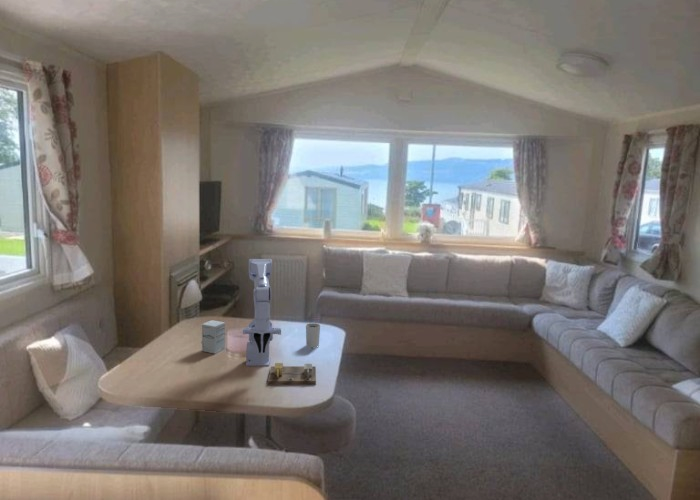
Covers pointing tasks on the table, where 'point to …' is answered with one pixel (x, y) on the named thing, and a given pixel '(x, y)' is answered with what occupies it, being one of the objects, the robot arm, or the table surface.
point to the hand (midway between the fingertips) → (261, 351)
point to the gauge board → (294, 375)
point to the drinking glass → (312, 334)
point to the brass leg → (278, 369)
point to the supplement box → (213, 336)
